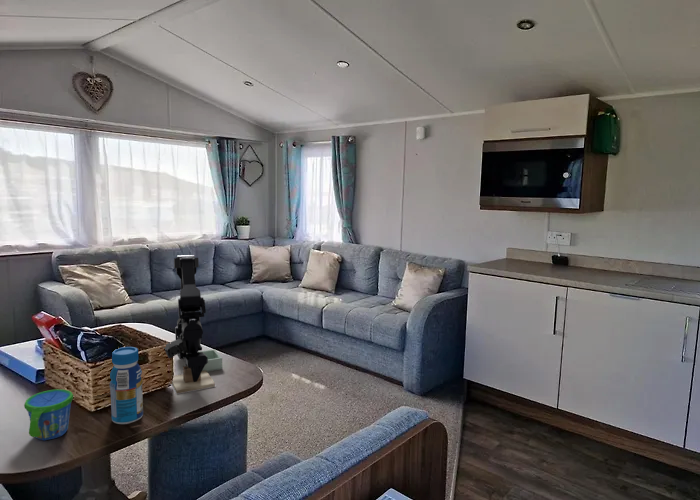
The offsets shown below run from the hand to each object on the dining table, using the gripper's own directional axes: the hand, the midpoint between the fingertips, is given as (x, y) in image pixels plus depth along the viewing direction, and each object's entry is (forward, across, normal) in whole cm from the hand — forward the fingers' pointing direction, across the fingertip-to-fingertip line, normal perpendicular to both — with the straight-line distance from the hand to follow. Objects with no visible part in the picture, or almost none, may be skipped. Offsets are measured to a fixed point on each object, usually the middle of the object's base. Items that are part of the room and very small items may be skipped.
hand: (192, 376), depth 158 cm
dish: (+2, -12, +7) cm, 14 cm away
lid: (+2, 0, 0) cm, 2 cm away
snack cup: (+3, +15, -39) cm, 42 cm away
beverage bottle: (+3, +15, -21) cm, 26 cm away
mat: (+2, 0, 0) cm, 2 cm away
